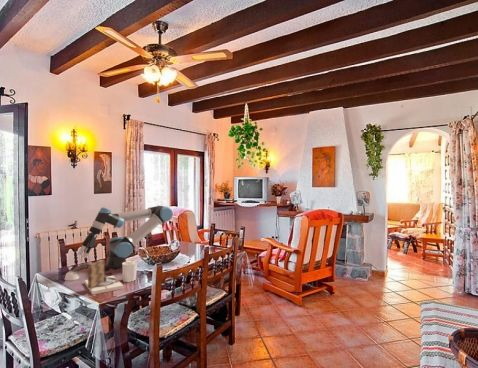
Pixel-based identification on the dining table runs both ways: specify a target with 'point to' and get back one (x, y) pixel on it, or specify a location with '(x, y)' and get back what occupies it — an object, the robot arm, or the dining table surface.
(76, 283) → the dining table surface
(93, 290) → the dial plate
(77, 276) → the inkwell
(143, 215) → the robot arm
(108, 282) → the wooden bookend
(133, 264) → the candle holder
